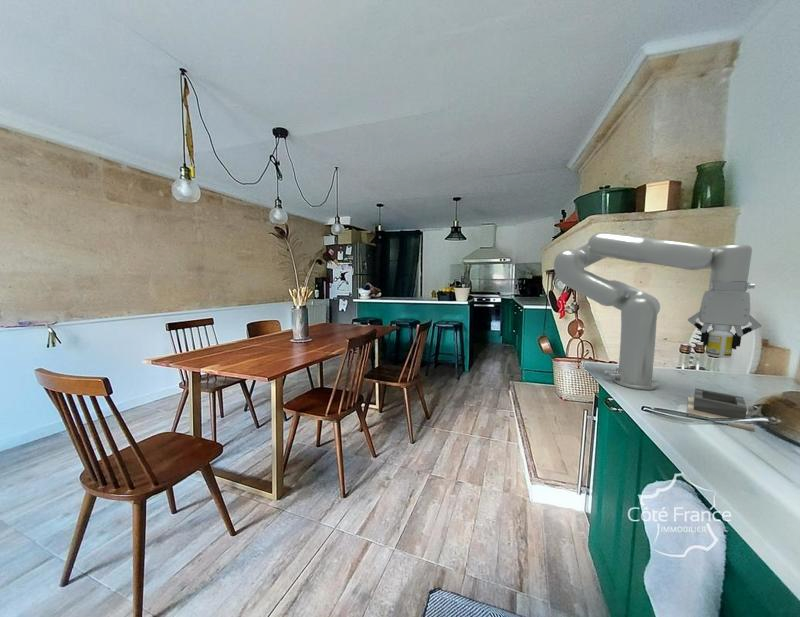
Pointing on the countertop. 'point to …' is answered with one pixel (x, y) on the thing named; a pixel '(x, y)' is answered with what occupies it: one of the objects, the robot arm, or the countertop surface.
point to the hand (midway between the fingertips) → (719, 346)
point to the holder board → (718, 407)
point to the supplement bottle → (720, 341)
